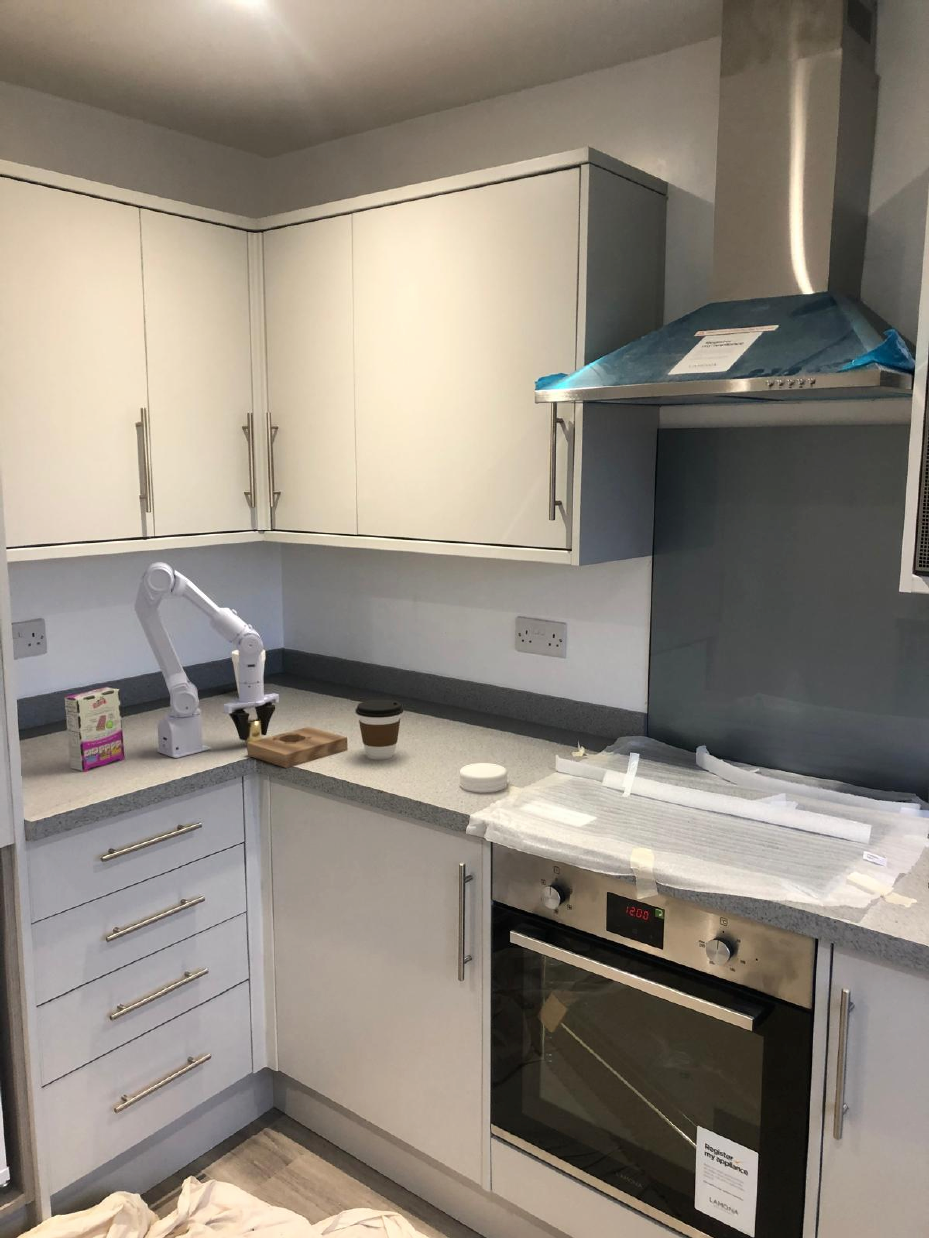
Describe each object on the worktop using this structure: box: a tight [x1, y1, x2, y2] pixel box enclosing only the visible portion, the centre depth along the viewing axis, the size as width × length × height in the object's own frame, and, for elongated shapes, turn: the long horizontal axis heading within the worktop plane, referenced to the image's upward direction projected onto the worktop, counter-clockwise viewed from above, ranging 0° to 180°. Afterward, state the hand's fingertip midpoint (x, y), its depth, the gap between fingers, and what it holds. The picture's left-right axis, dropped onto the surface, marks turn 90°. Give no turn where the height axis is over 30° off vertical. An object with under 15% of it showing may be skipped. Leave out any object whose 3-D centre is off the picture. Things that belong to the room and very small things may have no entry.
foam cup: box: [231, 649, 266, 695], centre depth 278 cm, size 10×9×13 cm
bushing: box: [244, 717, 263, 748], centre depth 230 cm, size 4×4×6 cm
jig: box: [246, 726, 348, 769], centre depth 224 cm, size 18×14×3 cm
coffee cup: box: [354, 699, 404, 760], centre depth 221 cm, size 11×11×12 cm
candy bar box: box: [63, 686, 125, 773], centre depth 215 cm, size 11×5×16 cm, turn 148°
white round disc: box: [458, 762, 508, 794], centre depth 202 cm, size 10×10×4 cm
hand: (253, 737), depth 231 cm, fingers open, 5 cm apart
